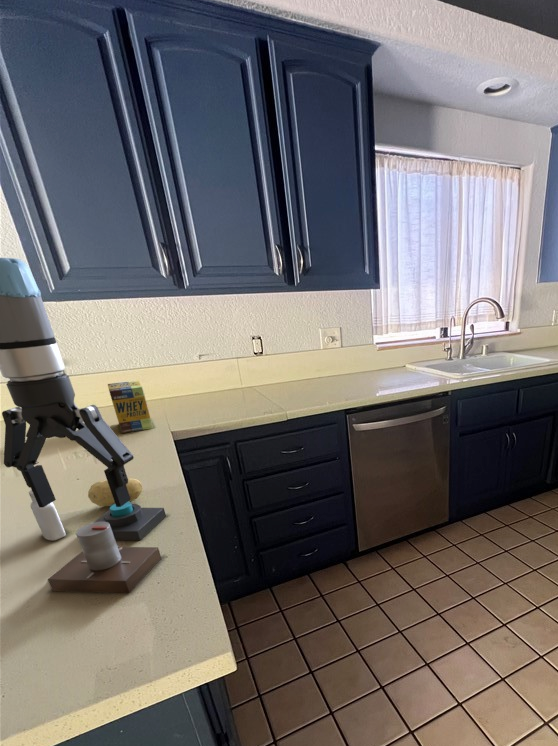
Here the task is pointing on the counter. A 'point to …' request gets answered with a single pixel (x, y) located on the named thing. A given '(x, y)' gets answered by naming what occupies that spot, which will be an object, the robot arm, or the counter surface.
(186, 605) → the counter surface
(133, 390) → the protein box
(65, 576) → the dial panel
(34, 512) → the eye dropper bottle
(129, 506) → the teal round puck
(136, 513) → the push button box
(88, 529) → the dial
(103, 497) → the potato
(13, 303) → the robot arm
